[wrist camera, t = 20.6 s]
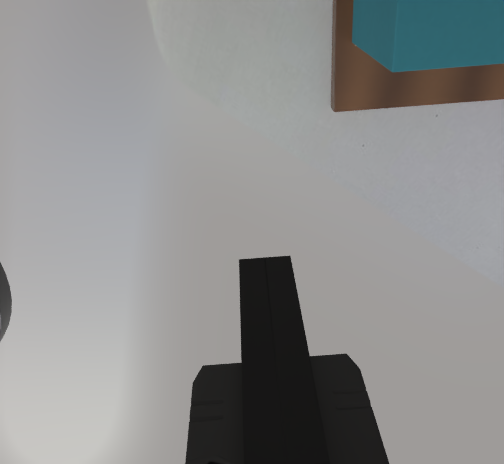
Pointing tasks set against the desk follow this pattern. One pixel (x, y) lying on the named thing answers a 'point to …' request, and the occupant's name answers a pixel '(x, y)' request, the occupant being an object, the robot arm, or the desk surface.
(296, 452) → the robot arm
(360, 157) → the desk surface
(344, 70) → the wooden stand
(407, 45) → the teal block
